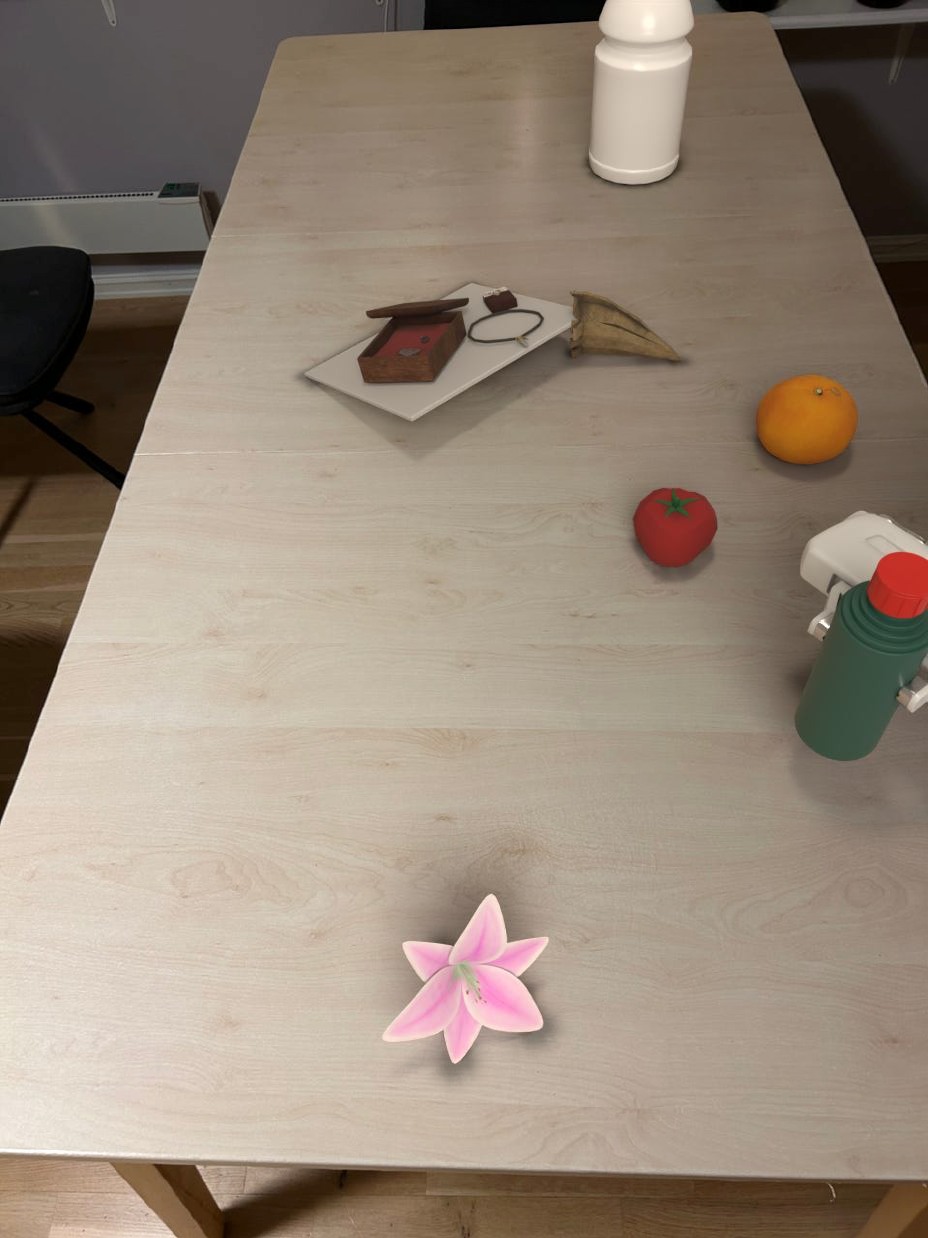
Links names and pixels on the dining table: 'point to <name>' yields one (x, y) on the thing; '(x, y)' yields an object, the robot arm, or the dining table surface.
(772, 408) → the fruit
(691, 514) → the tomato
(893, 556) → the cap
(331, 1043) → the dining table surface
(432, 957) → the lily
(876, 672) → the bottle
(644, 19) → the bottle
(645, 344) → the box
